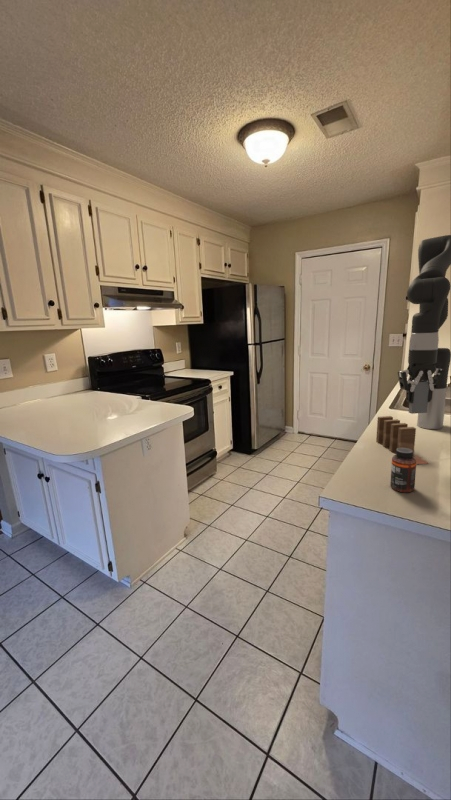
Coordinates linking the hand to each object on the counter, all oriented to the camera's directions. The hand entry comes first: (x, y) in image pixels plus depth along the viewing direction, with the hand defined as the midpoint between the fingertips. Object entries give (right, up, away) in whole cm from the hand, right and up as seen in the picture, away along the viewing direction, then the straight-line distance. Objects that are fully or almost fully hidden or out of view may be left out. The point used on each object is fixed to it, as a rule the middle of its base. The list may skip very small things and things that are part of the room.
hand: (418, 402), depth 103 cm
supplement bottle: (-12, -24, -12) cm, 29 cm away
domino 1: (0, -15, +22) cm, 27 cm away
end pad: (+1, -19, +5) cm, 20 cm away
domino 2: (0, -16, +18) cm, 24 cm away
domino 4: (+1, -18, +9) cm, 21 cm away
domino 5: (0, -3, +1) cm, 3 cm away
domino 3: (0, -17, +13) cm, 22 cm away
